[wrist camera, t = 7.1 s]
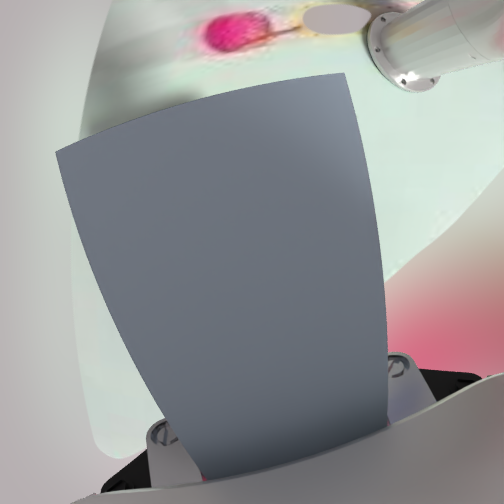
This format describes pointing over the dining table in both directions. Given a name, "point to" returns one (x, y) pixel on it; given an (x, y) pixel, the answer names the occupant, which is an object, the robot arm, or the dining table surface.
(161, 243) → the panel
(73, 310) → the dining table surface
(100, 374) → the dining table surface
